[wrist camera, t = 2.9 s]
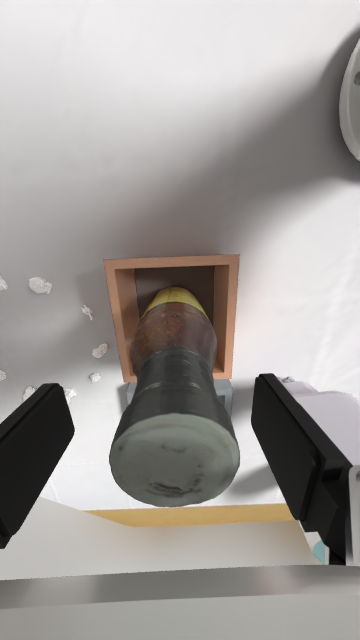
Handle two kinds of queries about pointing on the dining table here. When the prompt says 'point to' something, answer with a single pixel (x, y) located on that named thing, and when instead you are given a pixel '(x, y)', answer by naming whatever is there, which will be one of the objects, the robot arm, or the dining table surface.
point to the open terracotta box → (128, 313)
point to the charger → (331, 415)
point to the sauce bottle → (174, 410)
